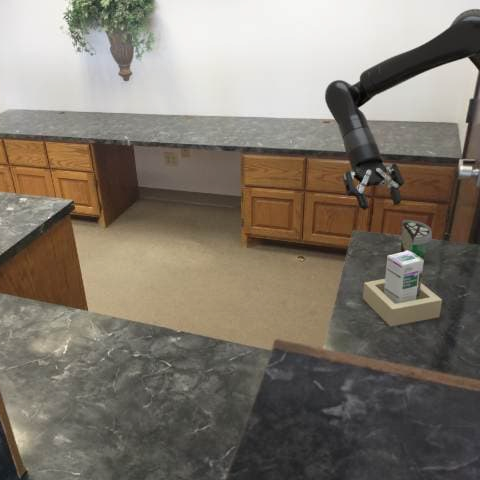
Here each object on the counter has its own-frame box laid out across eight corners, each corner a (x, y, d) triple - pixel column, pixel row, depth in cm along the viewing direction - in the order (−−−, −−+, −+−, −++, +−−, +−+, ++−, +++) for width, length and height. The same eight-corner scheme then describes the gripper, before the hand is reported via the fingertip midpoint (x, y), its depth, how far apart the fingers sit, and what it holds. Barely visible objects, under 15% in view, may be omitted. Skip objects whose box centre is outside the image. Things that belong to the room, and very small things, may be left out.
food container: (434, 270, 140) (439, 237, 136) (410, 270, 141) (414, 238, 137) (421, 249, 151) (425, 218, 147) (398, 249, 152) (402, 219, 148)
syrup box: (397, 316, 124) (404, 265, 117) (381, 304, 129) (387, 254, 122) (417, 311, 125) (425, 259, 118) (401, 299, 130) (407, 248, 123)
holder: (362, 298, 132) (364, 282, 129) (407, 290, 133) (410, 274, 131) (390, 326, 120) (392, 309, 118) (439, 317, 122) (442, 299, 119)
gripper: (341, 146, 128) (361, 204, 123) (394, 138, 129) (416, 195, 124) (330, 160, 135) (349, 216, 130) (380, 152, 136) (401, 207, 131)
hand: (382, 206), depth 127 cm, fingers open, 8 cm apart
